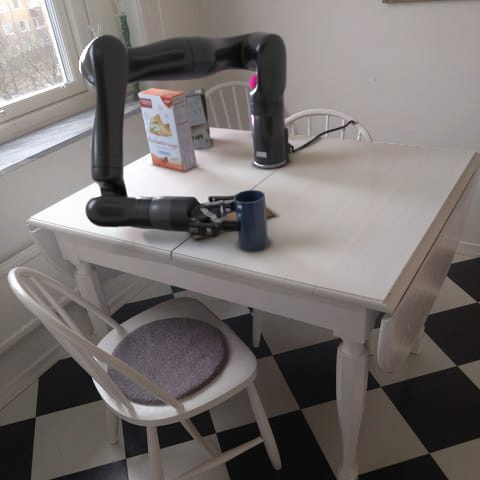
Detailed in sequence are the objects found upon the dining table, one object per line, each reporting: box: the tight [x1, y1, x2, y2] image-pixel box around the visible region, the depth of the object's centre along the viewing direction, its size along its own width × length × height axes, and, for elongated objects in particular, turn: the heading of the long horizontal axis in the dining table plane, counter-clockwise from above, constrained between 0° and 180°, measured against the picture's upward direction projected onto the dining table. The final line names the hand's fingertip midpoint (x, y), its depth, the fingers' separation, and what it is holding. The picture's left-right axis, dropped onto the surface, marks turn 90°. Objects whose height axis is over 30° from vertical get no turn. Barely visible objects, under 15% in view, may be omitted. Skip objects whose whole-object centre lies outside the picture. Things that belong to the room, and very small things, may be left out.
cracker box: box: [137, 87, 198, 173], centre depth 143 cm, size 14×6×21 cm, turn 49°
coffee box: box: [184, 87, 212, 150], centre depth 158 cm, size 9×6×16 cm
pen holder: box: [234, 189, 269, 252], centre depth 103 cm, size 6×6×11 cm
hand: (246, 216), depth 103 cm, fingers open, 8 cm apart
